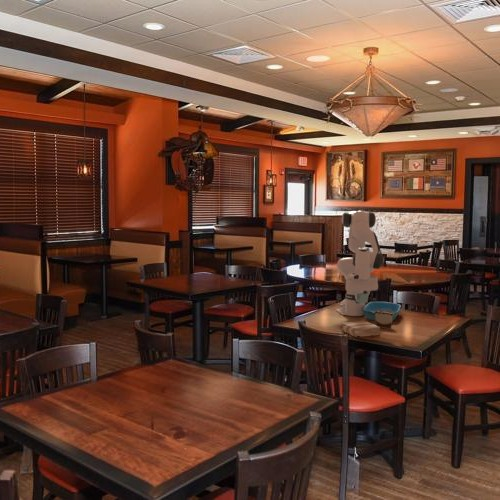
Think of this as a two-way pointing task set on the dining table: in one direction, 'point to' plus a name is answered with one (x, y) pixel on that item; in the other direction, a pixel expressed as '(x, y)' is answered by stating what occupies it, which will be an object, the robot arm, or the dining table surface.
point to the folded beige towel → (360, 328)
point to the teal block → (362, 298)
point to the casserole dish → (374, 306)
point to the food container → (384, 318)
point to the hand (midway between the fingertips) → (361, 298)
